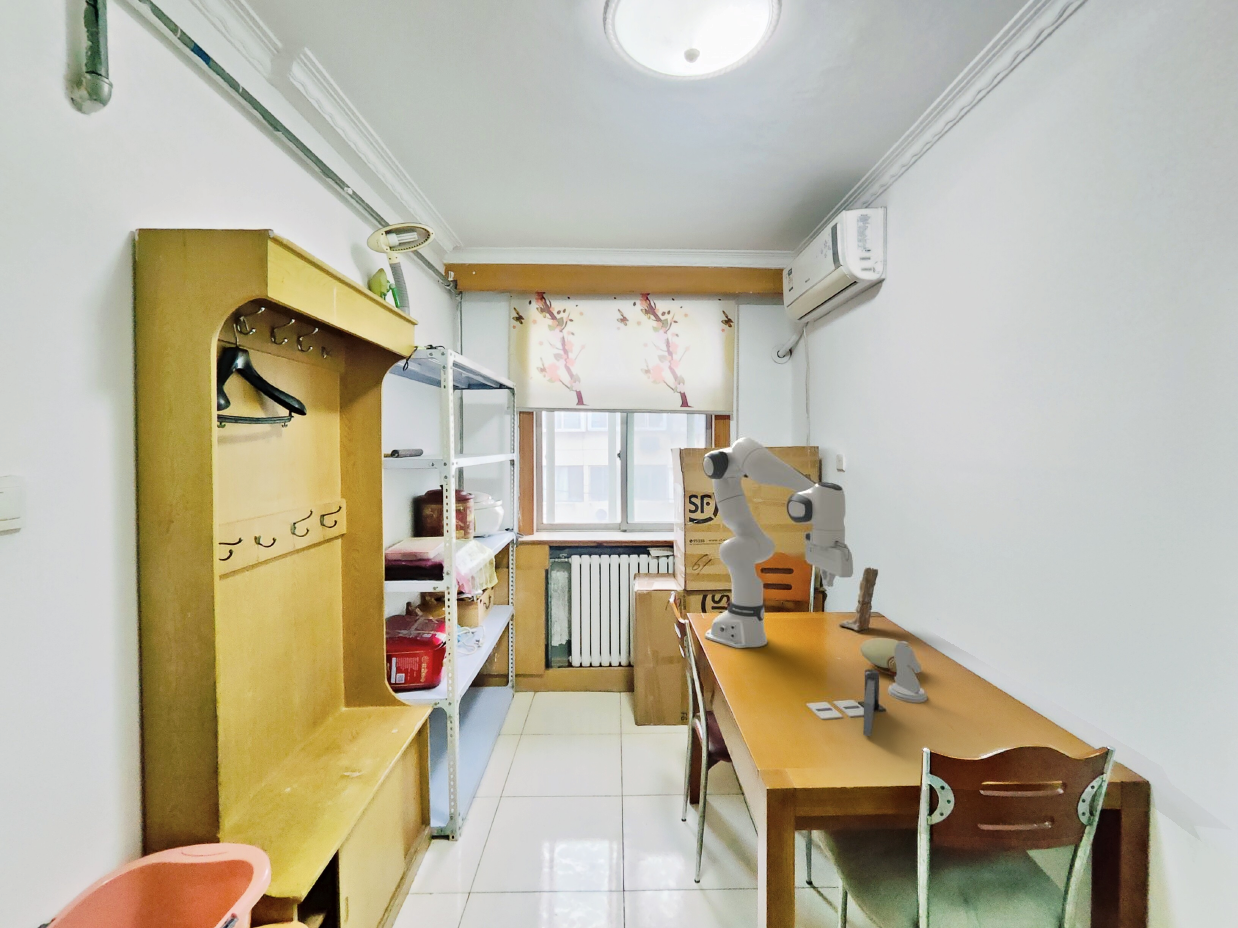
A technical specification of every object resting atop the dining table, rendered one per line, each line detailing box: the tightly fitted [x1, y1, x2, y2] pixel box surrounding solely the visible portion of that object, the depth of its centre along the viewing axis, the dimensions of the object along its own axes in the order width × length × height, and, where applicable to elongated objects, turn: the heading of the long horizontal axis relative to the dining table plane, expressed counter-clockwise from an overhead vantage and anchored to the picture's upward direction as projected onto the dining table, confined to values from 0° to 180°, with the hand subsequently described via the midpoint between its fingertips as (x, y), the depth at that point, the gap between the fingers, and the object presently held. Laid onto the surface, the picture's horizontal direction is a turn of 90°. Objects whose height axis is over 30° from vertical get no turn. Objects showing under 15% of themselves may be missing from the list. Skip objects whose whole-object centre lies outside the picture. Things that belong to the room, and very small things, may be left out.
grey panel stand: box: [863, 669, 880, 737], centre depth 139 cm, size 20×4×9 cm, turn 152°
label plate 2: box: [832, 699, 864, 718], centre depth 146 cm, size 6×8×1 cm
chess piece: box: [887, 640, 928, 703], centre depth 154 cm, size 10×10×15 cm
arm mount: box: [857, 700, 887, 713], centre depth 147 cm, size 5×5×1 cm
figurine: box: [838, 566, 879, 632], centre depth 212 cm, size 12×10×25 cm
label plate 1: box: [805, 701, 844, 720], centre depth 144 cm, size 6×8×1 cm
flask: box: [859, 637, 901, 677], centre depth 170 cm, size 9×16×18 cm
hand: (827, 585), depth 157 cm, fingers closed
